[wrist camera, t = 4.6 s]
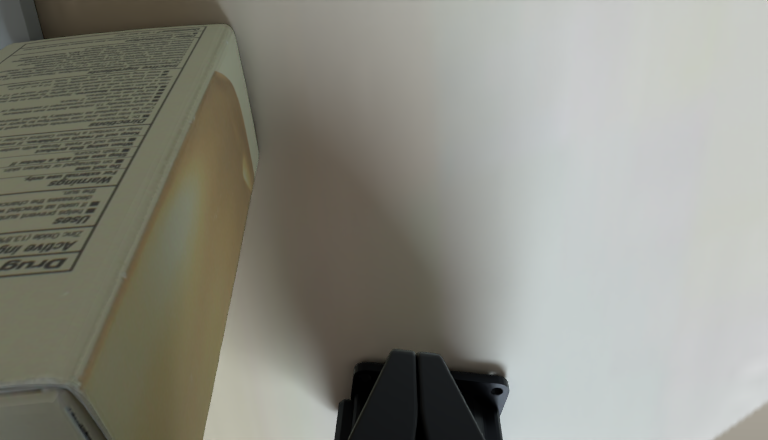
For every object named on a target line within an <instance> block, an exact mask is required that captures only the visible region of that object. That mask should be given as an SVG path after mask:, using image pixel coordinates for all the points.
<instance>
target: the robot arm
mask: <svg viewBox="0 0 768 440" xmlns="http://www.w3.org/2000/svg"><path fill="white" fill-rule="evenodd" d="M508 394H509V386H508V381H507V380H506V379H505V378H504V377H501V376H494V375H484V374H475V373H465V372H456V371H449V369H448V367H447V366H446V364H445V362H444V360H443V358H442V357H441V356H440V355H439V354H436V353H427V352H418V353H417V354H415V352H413V351H409V350H400V349H393V350H392V351H391V352H390V354H389V356H388V358H387V360H386V362H385V364H379V363H370V362H362V363H359V364H357V365H356V366H355V368H354V375H353V384H352V392H351V400H350V399H344V400H343V401H341V402H340V403H339V408H338V416H337V424H336V432H335V439H334V440H503V438H502V431H501V424H500V415H501V412H502V410H503V407H504V404H505V402H506V399H507V397H508Z"/></svg>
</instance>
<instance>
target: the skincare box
mask: <svg viewBox="0 0 768 440" xmlns="http://www.w3.org/2000/svg"><path fill="white" fill-rule="evenodd" d="M258 159H259V151H258V146H257V140H256V135H255V129H254V123H253V118H252V114H251V108H250V103H249V98H248V93H247V88H246V83H245V78H244V74H243V69H242V65H241V60H240V56H239V51H238V47H237V42H236V38H235V34H234V32H233V30H232V28H231V27H230V26H228V25H226V24H209V25H190V26H176V27H162V28H149V29H137V30H126V31H116V32H106V33H95V34H86V35H77V36H68V37H59V38H51V39H43V40H36V41H29V42H21V43H13V44H10V45H7V46H6V47H4V48H3V49H1V50H0V440H203V436H204V430H205V425H206V420H207V416H208V411H209V406H210V402H211V397H212V392H213V386H214V381H215V376H216V371H217V367H218V362H219V355H220V349H221V345H222V341H223V336H224V331H225V326H226V320H227V315H228V310H229V306H230V301H231V296H232V290H233V285H234V280H235V276H236V271H237V266H238V261H239V256H240V250H241V245H242V240H243V235H244V230H245V224H246V220H247V214H248V209H249V204H250V199H251V194H252V189H253V184H254V180H255V174H256V169H257V164H258Z"/></svg>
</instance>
